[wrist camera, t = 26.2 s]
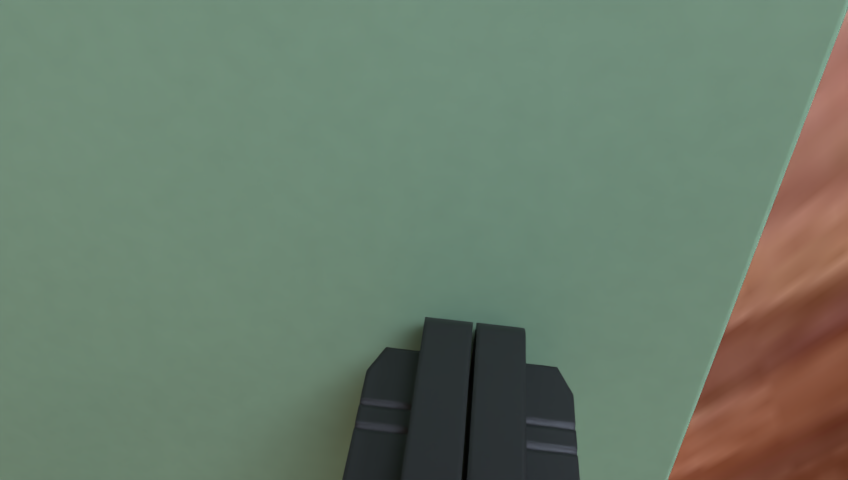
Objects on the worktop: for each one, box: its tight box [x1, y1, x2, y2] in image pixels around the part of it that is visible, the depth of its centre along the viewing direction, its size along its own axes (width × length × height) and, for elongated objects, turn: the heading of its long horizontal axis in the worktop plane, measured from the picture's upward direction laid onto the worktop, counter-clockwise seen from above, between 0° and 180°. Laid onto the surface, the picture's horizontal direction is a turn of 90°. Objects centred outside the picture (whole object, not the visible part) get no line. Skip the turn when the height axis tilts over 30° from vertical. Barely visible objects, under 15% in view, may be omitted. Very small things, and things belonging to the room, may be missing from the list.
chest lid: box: [0, 0, 848, 480], centre depth 13 cm, size 16×13×1 cm
